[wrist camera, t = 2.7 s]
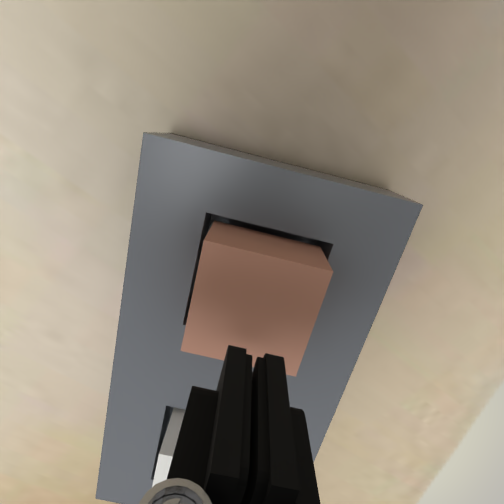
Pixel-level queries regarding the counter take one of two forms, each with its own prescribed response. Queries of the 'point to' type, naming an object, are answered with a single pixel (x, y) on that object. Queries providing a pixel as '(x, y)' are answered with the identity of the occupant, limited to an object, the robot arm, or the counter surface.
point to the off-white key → (168, 446)
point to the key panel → (184, 274)
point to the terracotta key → (255, 295)
